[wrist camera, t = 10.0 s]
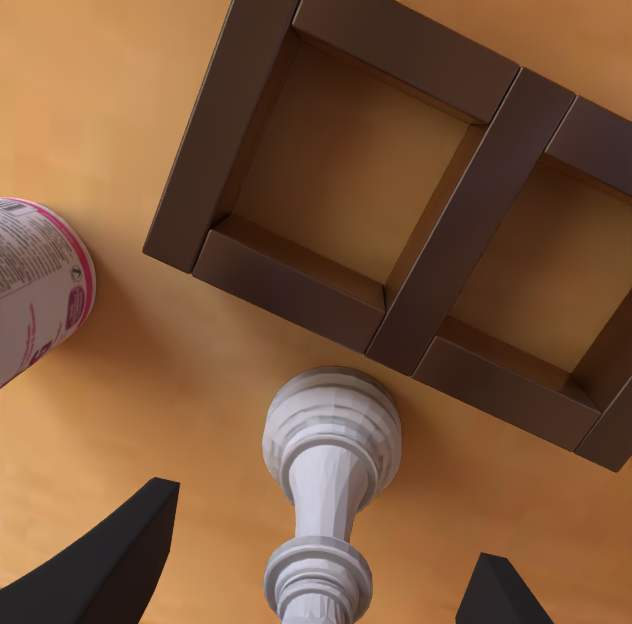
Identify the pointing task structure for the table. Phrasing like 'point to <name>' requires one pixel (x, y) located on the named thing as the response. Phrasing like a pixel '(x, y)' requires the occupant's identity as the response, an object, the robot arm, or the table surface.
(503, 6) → the table surface
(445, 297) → the stand
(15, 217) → the pill bottle
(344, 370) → the chess piece
